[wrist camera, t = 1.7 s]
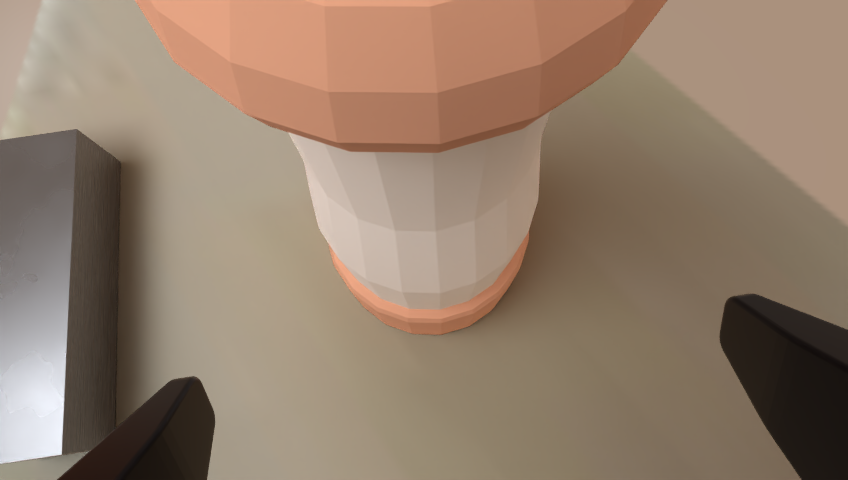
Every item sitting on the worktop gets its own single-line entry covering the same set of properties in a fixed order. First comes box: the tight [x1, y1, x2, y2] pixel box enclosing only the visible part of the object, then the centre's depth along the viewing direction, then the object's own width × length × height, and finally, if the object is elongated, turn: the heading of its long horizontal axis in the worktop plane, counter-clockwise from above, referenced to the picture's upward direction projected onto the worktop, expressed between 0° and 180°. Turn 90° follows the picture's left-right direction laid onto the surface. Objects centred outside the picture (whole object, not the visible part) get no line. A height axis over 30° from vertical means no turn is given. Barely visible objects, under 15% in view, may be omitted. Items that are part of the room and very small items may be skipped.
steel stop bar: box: [0, 129, 120, 464], centre depth 21 cm, size 12×3×3 cm, turn 8°
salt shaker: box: [135, 0, 667, 335], centre depth 13 cm, size 7×7×19 cm
